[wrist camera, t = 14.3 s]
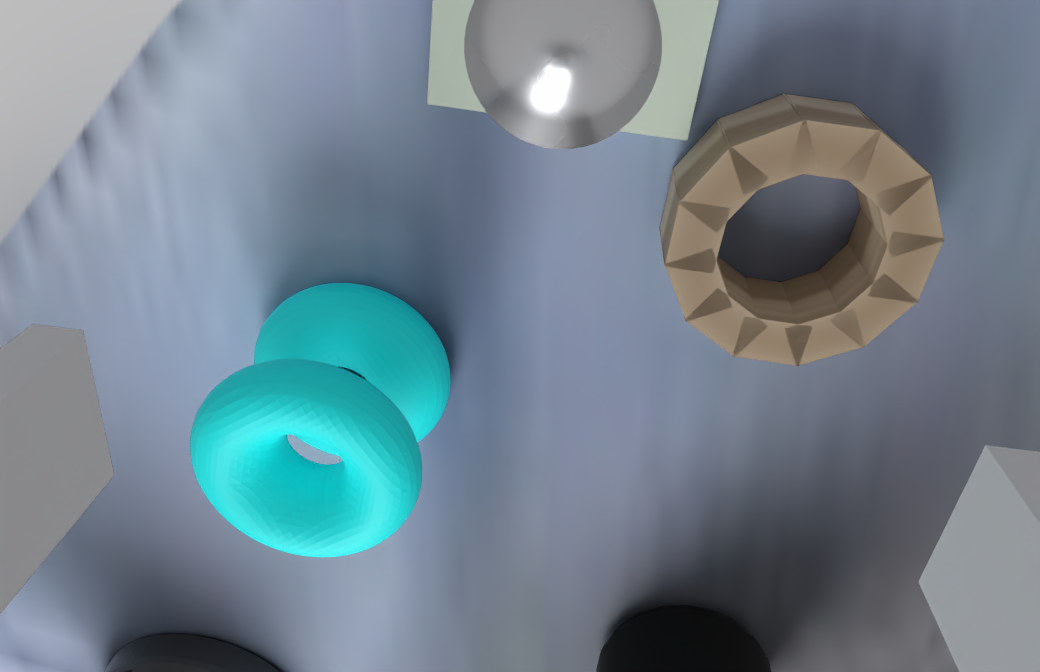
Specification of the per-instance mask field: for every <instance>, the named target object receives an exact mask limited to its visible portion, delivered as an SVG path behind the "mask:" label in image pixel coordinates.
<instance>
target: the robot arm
mask: <svg viewBox="0 0 1040 672" xmlns="http://www.w3.org/2000/svg"><path fill="white" fill-rule="evenodd" d="M113 476H114V472H113V467H112V463H111V458H110V453H109V448H108V444H107V439H106V434H105V430H104V425H103V420H102V416H101V411H100V406H99V401H98V397H97V392H96V387H95V383H94V378H93V373H92V369H91V364H90V359H89V354H88V350H87V345H86V340H85V336H84V331H83V330H77V329H69V328H61V327H54V326H46V325H38V324H32V325H30V326H29V327H28V328H27V329H25V330H24V331H23V332H21V333H20V334H19V335H17V336H16V337H15V338H14V339H12V340H11V341H10V342H8V343H7V344H6V345H5V346H3V347H2V348H1V349H0V614H1V612H2V611H3V610H4V609H5V608H6V606H7V605H8V604H9V603H10V602H11V600H12V599H13V598H14V597H15V595H16V594H17V593H18V592H19V591H20V589H21V588H22V587H23V586H24V584H25V583H26V582H27V581H28V580H29V578H30V577H31V576H32V575H33V574H34V572H35V571H36V570H37V569H38V567H39V566H40V565H41V564H42V563H43V561H44V560H45V559H46V558H47V556H48V555H49V554H50V553H51V552H52V550H53V549H54V548H55V547H56V546H57V544H58V543H59V542H60V541H61V539H62V538H63V537H64V536H65V535H66V533H67V532H68V531H69V530H70V528H71V527H72V526H73V525H74V524H75V522H76V521H77V520H78V519H79V518H80V516H81V515H82V514H83V513H84V511H85V510H86V509H87V508H88V507H89V505H90V504H91V503H92V502H93V500H94V499H95V498H96V497H97V496H98V494H99V493H100V492H101V491H102V490H103V488H104V487H105V486H106V485H107V483H108V482H109V481H110V480H111V479H112V477H113ZM919 584H920V587H921V589H922V591H923V593H924V595H925V597H926V600H927V602H928V604H929V606H930V608H931V611H932V613H933V615H934V617H935V619H936V622H937V624H938V626H939V628H940V630H941V633H942V635H943V637H944V639H945V641H946V643H947V646H948V648H949V650H950V652H951V654H952V657H953V659H954V661H955V663H956V665H957V668H958V670H959V672H1040V452H1036V451H1028V450H1020V449H1012V448H1004V447H996V446H989V445H985V447H984V449H983V451H982V453H981V455H980V458H979V460H978V462H977V464H976V466H975V468H974V470H973V472H972V474H971V476H970V478H969V480H968V482H967V484H966V486H965V488H964V490H963V492H962V494H961V496H960V498H959V500H958V502H957V504H956V506H955V508H954V510H953V513H952V515H951V517H950V519H949V521H948V523H947V525H946V527H945V529H944V531H943V533H942V535H941V537H940V539H939V541H938V543H937V545H936V547H935V549H934V551H933V553H932V555H931V557H930V559H929V561H928V563H927V565H926V567H925V570H924V572H923V574H922V576H921V578H920V580H919ZM104 672H280V671H278V670H277V669H276V668H274V667H273V666H272V665H270V664H269V663H267V662H266V661H264V660H263V659H261V658H259V657H257V656H256V655H254V654H252V653H250V652H248V651H246V650H243V649H241V648H239V647H236V646H234V645H231V644H228V643H225V642H222V641H218V640H215V639H211V638H206V637H201V636H195V635H185V634H162V635H154V636H149V637H145V638H141V639H138V640H136V641H133V642H131V643H129V644H127V645H126V646H124V647H123V648H121V649H120V650H119V651H118V652H117V653H116V654H115V655H114V656H113V658H112V660H111V661H110V663H109V664H108V666H107V667H106V669H105V671H104Z"/></svg>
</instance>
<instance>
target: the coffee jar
mask: <svg viewBox="0 0 1040 672" xmlns="http://www.w3.org/2000/svg"><path fill="white" fill-rule="evenodd" d="M597 672H771V669H770V664H769V660H768V658H767V657H766V655H765V653H764V652H763V650H762V648H761V647H760V645H759V643H758V642H757V641H756V639H755V638H754V637H753V636H751V635H750V634H749V633H747V631H746V630H745V629H743V628H742V627H741V626H740V625H738V624H737V623H736V622H735V621H733V620H732V619H731V618H729V617H726V616H724V615H722V614H719V613H717V612H714V611H712V610H709V609H703V608H697V607H691V606H671V607H660V608H656V609H653V610H650V611H646V612H643V613H639V614H638V615H636V616H634V617H633V618H631V619H630V620H628V621H626V622H625V623H623V624H622V625H621V626H620V627H619V628H618V630H617V631H616V632H615V633H614V634H613V635H612V637H611V638H610V639H609V640H608V641H607V643H606V644H605V645H604V647H603V649H602V650H601V653H600V657H599V661H598V665H597Z"/></svg>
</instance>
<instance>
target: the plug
mask: <svg viewBox="0 0 1040 672" xmlns="http://www.w3.org/2000/svg"><path fill="white" fill-rule="evenodd" d="M464 55H465V63H466V69H467V73H468V77H469V80H470V83H471V85H472V88H473V91H474V93H475V94H476V96H477V98H478V100H479V102H480V103H481V105H482V106H483V108H484V109H485V110H486V112H487V113H488V114H489V115H490V116H491V118H492V119H493V120H494V121H495V122H496V123H497V124H499V125H500V126H501V127H502V128H503V129H504V130H506V131H507V132H509V133H510V134H512V135H513V136H515V137H517V138H519V139H521V140H523V141H525V142H528V143H531V144H534V145H537V146H541V147H546V148H553V149H572V148H579V147H584V146H588V145H591V144H594V143H597V142H599V141H601V140H604V139H606V138H608V137H610V136H611V135H613V134H614V133H616V132H618V131H619V130H620V129H622V128H623V127H624V126H625V125H626V124H628V123H629V122H630V121H631V120H632V119H633V118H634V117H635V115H636V114H637V113H638V112H639V111H640V109H641V108H642V107H643V105H644V104H645V102H646V101H647V99H648V97H649V95H650V93H651V92H652V89H653V87H654V84H655V82H656V79H657V76H658V72H659V68H660V64H661V56H662V34H661V26H660V21H659V17H658V14H657V10H656V7H655V4H654V1H653V0H474V3H473V5H472V8H471V10H470V13H469V17H468V20H467V24H466V30H465V38H464Z"/></svg>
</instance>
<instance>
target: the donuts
mask: <svg viewBox="0 0 1040 672" xmlns="http://www.w3.org/2000/svg"><path fill="white" fill-rule="evenodd" d="M339 367H344V368H348V369H351V370H354V371H356V372H358V373H359V374H361V375H362V376H363V377H365V379H366V380H367V381H366V380H365V379H363V378H361V377H359V376H358V375H356V374H354V373H352V372H349V371H347V370H345V369H342V368H339ZM450 386H451V377H450V368H449V362H448V358H447V355H446V352H445V349H444V347H443V345H442V343H441V341H440V339H439V337H438V335H437V334H436V332H435V331H434V330H433V328H432V327H431V326H430V324H429V323H428V322H427V321H426V320H425V319H424V318H423V317H422V316H421V315H420V314H419V313H418V312H417V311H416V310H415V309H414V308H412V307H411V306H410V305H408V304H407V303H405V302H404V301H402V300H401V299H399V298H397V297H396V296H394V295H391V294H389V293H387V292H385V291H382V290H380V289H377V288H373V287H370V286H366V285H361V284H354V283H328V284H322V285H317V286H313V287H310V288H307V289H305V290H302V291H300V292H298V293H296V294H294V295H292V296H291V297H289V298H288V299H286V300H285V301H283V302H282V303H281V304H280V305H279V306H278V307H277V308H276V309H275V310H274V311H273V312H272V313H271V315H270V316H269V317H268V318H267V320H266V321H265V323H264V325H263V326H262V329H261V331H260V333H259V336H258V339H257V343H256V347H255V354H254V365H251V366H249V367H246V368H244V369H241V370H239V371H237V372H236V373H234V374H232V375H231V376H229V377H228V378H226V379H225V380H223V381H222V382H221V383H220V384H218V385H217V386H216V387H215V388H214V389H213V390H212V391H211V392H210V394H209V395H208V396H207V398H206V399H205V400H204V402H203V403H202V405H201V406H200V408H199V410H198V412H197V415H196V417H195V420H194V423H193V427H192V431H191V438H190V452H191V460H192V465H193V470H194V473H195V476H196V478H197V481H198V483H199V485H200V487H201V489H202V491H203V492H204V494H205V495H206V497H207V498H208V500H209V501H210V502H211V504H212V505H213V506H214V507H215V508H216V510H217V511H218V512H219V513H220V514H221V515H222V516H223V517H224V518H225V519H226V520H227V521H228V522H229V523H230V524H232V525H233V526H234V527H235V528H237V529H238V530H240V531H241V532H243V533H244V534H246V535H247V536H249V537H251V538H252V539H254V540H256V541H258V542H260V543H262V544H264V545H266V546H269V547H272V548H274V549H277V550H280V551H283V552H287V553H291V554H296V555H301V556H309V557H338V556H344V555H350V554H354V553H358V552H361V551H364V550H367V549H369V548H371V547H373V546H375V545H377V544H379V543H381V542H382V541H384V540H385V539H387V538H388V537H390V536H391V535H392V534H393V533H395V532H396V531H397V530H398V529H399V528H400V527H401V526H402V524H403V523H404V522H405V520H406V519H407V518H408V516H409V515H410V513H411V512H412V510H413V508H414V506H415V504H416V501H417V498H418V495H419V492H420V488H421V482H422V459H421V453H420V449H419V446H418V443H417V442H419V441H420V440H422V439H423V438H424V437H425V436H426V435H427V434H429V432H430V431H431V430H432V429H433V428H434V427H435V425H436V424H437V423H438V421H439V420H440V418H441V416H442V414H443V412H444V410H445V408H446V405H447V401H448V398H449V394H450ZM287 434H293V435H295V436H296V437H297V438H299V439H300V440H302V441H303V442H305V443H307V444H309V445H310V446H312V447H314V448H317V449H319V450H321V451H324V452H327V453H330V454H334V455H337V456H340V457H341V459H342V460H343V461H342V462H340V463H337V464H331V465H326V464H319V463H315V462H312V461H309V460H307V459H305V458H303V457H302V456H300V455H299V454H298V453H297V452H296V451H295V450H294V449H293V448H292V447H291V445H290V444H289V442H288V439H287Z"/></svg>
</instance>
